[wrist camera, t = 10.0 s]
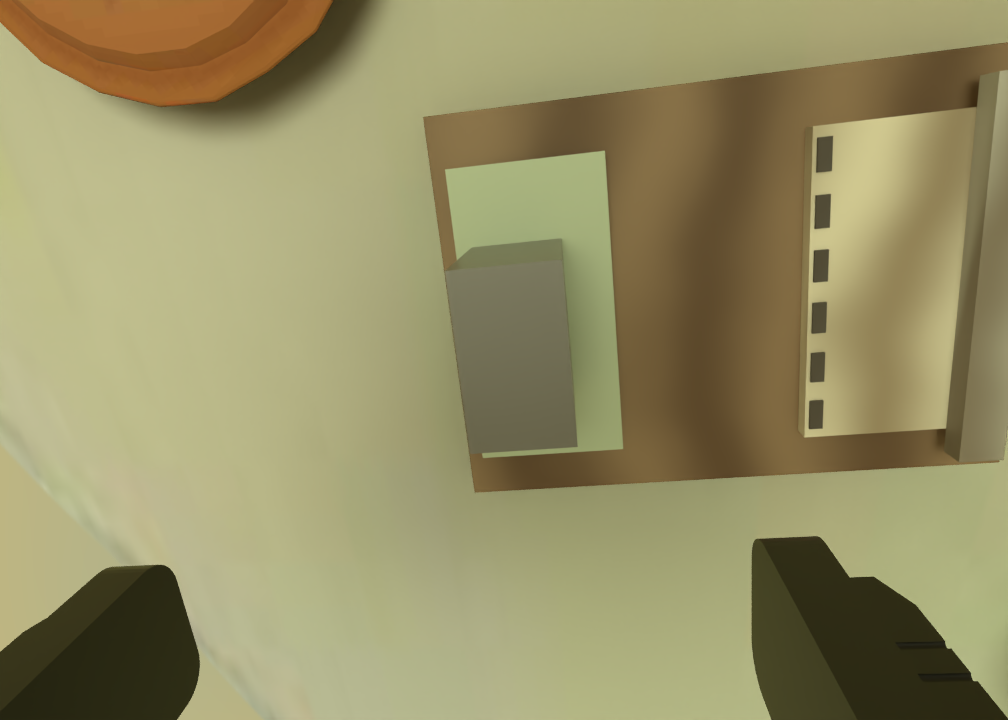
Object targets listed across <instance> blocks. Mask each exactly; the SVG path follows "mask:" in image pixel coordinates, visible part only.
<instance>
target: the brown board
mask: <svg viewBox="0 0 1008 720" xmlns="http://www.w3.org/2000/svg"><path fill="white" fill-rule="evenodd" d="M423 119H424V127H425V134H426V141H427V148H428V156H429V163H430V170H431V178H432V185H433V192H434V199H435V207H436V214H437V221H438V229H439V236H440V243H441V250H442V258H443V265H444V272H445V270H447V269H448V268H449V267H450V266H451V265H452V264H453V263H455V262H456V261H457V257H456V250H455V242H454V235H453V227H452V219H451V212H450V204H449V196H448V189H447V181H446V174H445V169H453V168H462V167H470V166H479V165H488V164H496V163H505V162H513V161H522V160H530V159H539V158H547V157H556V156H564V155H573V154H581V153H590V152H598V151H605V160H606V176H607V192H608V208H609V225H610V241H611V257H612V273H613V290H614V306H615V322H616V339H617V355H618V371H619V387H620V404H621V420H622V436H623V449H617V450H602V451H586V452H570V453H555V454H539V455H523V456H508V457H492V458H483V456H482V453H478V454H470V451H469V454H470V462H471V469H472V476H473V483H474V491H475V492H491V491H508V490H525V489H543V488H560V487H577V486H595V485H612V484H629V483H647V482H664V481H681V480H699V479H716V478H733V477H751V476H768V475H785V474H803V473H820V472H837V471H855V470H872V469H889V468H907V467H924V466H941V465H959V464H976V463H993V462H999V460H1004V453H1005V445H1006V437H1007V429H1008V42H1007V43H999V44H991V45H984V46H976V47H968V48H960V49H952V50H945V51H937V52H929V53H921V54H913V55H905V56H898V57H890V58H882V59H874V60H866V61H858V62H851V63H843V64H835V65H827V66H819V67H811V68H804V69H796V70H788V71H780V72H772V73H765V74H757V75H749V76H741V77H733V78H725V79H718V80H710V81H702V82H694V83H686V84H678V85H671V86H663V87H655V88H647V89H639V90H631V91H624V92H616V93H608V94H600V95H592V96H584V97H577V98H569V99H561V100H553V101H545V102H538V103H530V104H522V105H514V106H506V107H498V108H491V109H483V110H475V111H467V112H459V113H451V114H444V115H436V116H428V117H423ZM445 280H446V276H445ZM446 287H447V283H446ZM447 294H448V291H447ZM448 301H449V298H448ZM449 309H450V305H449ZM450 316H451V313H450ZM451 323H452V320H451ZM452 330H453V327H452ZM453 338H454V335H453ZM454 345H455V342H454ZM455 352H456V349H455ZM456 360H457V356H456ZM457 367H458V364H457ZM458 374H459V371H458ZM459 381H460V378H459ZM460 389H461V386H460ZM461 396H462V393H461ZM462 403H463V400H462ZM463 411H464V407H463ZM464 418H465V415H464ZM465 425H466V422H465ZM466 432H467V429H466ZM467 440H468V437H467ZM468 447H469V444H468Z"/></svg>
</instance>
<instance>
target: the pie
mask: <svg viewBox="0 0 1008 720" xmlns="http://www.w3.org/2000/svg"><path fill="white" fill-rule="evenodd" d="M332 2H333V0H0V22H1V23H2V24H3V25H4V26H5V27H6V28H7V29H8V30H9V31H10V32H11V33H12V34H13V35H14V36H15V37H16V38H17V39H18V40H19V41H20V42H21V43H22V44H24V45H25V46H26V47H27V48H28V49H29V50H30V51H31V52H32V53H33V54H34V55H35V56H36V57H37V58H38V59H39V60H40V61H41V62H43V63H44V64H46V65H48V66H50V67H52V68H54V69H56V70H58V71H60V72H62V73H63V74H65V75H67V76H69V77H71V78H73V79H75V80H77V81H79V82H81V83H83V84H85V85H86V86H88V87H90V88H92V89H94V90H96V91H98V92H100V93H104V94H108V95H112V96H117V97H121V98H125V99H129V100H133V101H137V102H142V103H146V104H150V105H154V106H158V107H167V106H177V105H187V104H197V103H208V102H217V101H219V100H221V99H222V98H224V97H226V96H227V95H229V94H231V93H233V92H234V91H236V90H238V89H239V88H241V87H243V86H245V85H246V84H248V83H250V82H252V81H253V80H255V79H257V78H258V77H260V76H262V75H264V74H265V73H267V72H269V71H270V70H271V69H272V68H273V67H275V66H276V65H277V64H278V63H279V62H281V61H282V60H283V59H284V58H285V57H287V56H288V55H289V54H290V53H291V52H293V51H294V50H295V49H296V48H297V47H299V46H300V45H301V44H302V43H303V42H305V41H306V40H307V39H308V38H309V37H311V36H312V35H313V34H314V33H315V32H316V31H317V30H318V28H319V26H320V24H321V22H322V20H323V19H324V17H325V15H326V13H327V11H328V9H329V8H330V6H331V4H332Z"/></svg>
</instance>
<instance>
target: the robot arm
mask: <svg viewBox="0 0 1008 720" xmlns="http://www.w3.org/2000/svg"><path fill="white" fill-rule="evenodd" d="M752 650H753V658H754V664H755V670H756V674H757V679H758V683H759V686H760V690H761V693H762V696H763V698H764V701H765V704H766V706H767V709H768V711H769V714H770V717H771V719H772V720H1008V718H1007V717H1006V716H1005V714H1004V713H1003V712H1002V711H1001V710H1000V708H999V707H998V706H997V705H996V703H995V702H994V701H993V700H992V698H991V697H990V696H989V695H988V694H987V692H986V691H985V690H984V689H983V687H982V686H981V685H980V684H979V682H978V681H973V680H972V677H971V673H970V671H969V670H968V669H967V668H966V666H965V665H964V664H963V663H962V661H961V660H960V659H959V658H958V657H957V655H956V654H955V653H954V652H953V650H952V649H947V647H946V645H945V641H944V639H943V638H942V637H941V636H940V634H939V633H938V632H937V631H936V629H935V628H934V627H933V626H932V624H931V623H930V622H929V621H928V620H927V618H926V617H925V616H924V615H923V613H922V612H921V611H920V610H919V608H918V607H917V606H916V605H915V604H913V603H912V602H910V601H909V600H907V599H906V598H904V597H903V596H901V595H900V594H898V593H897V592H896V591H894V590H893V589H891V588H890V587H888V586H887V585H885V584H884V583H882V582H881V581H879V580H878V579H876V578H875V577H854V578H850V577H849V576H848V575H847V573H846V572H845V570H844V569H843V568H842V566H841V565H840V563H839V562H838V560H837V559H836V558H835V556H834V555H833V553H832V552H831V550H830V549H829V548H828V546H827V545H826V543H825V542H824V541H823V540H822V539H821V538H820V537H817V536H813V537H791V538H769V539H756V540H755V541H754V543H753V547H752ZM199 668H200V660H199V653H198V649H197V646H196V642H195V639H194V636H193V632H192V629H191V626H190V622H189V619H188V616H187V613H186V609H185V606H184V603H183V599H182V596H181V593H180V589H179V586H178V583H177V580H176V577H175V575H174V573H173V572H172V571H171V569H170V568H168V567H167V566H164V565H144V566H122V567H110V568H106V569H104V570H102V571H101V572H100V573H98V574H97V575H96V576H95V577H94V578H92V579H91V580H90V581H89V582H88V583H87V584H86V585H84V586H83V587H82V588H81V589H80V590H79V591H78V592H76V593H75V594H74V595H73V596H72V597H71V598H69V599H68V600H67V601H66V602H65V603H64V604H63V605H62V606H60V607H59V608H58V609H57V610H56V611H55V612H53V613H52V614H51V615H50V616H49V617H48V618H46V619H45V620H43V621H41V622H40V623H38V624H36V625H34V626H33V627H31V628H30V629H28V630H26V631H25V632H23V633H22V634H21V635H20V636H19V637H17V638H16V639H15V640H14V641H12V642H11V643H10V644H9V645H8V646H7V647H5V648H4V649H3V650H2V651H1V652H0V720H177V719H178V717H179V716H180V715H181V713H182V712H183V710H184V709H185V707H186V706H187V704H188V703H189V701H190V699H191V698H192V695H193V693H194V691H195V688H196V685H197V681H198V676H199Z"/></svg>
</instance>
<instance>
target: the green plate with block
mask: <svg viewBox="0 0 1008 720" xmlns="http://www.w3.org/2000/svg"><path fill="white" fill-rule="evenodd" d="M445 174H446V181H447V189H448V196H449V204H450V212H451V219H452V227H453V235H454V242H455V250H456V257H457V261H456V262H455V263H453V264H452V265H451V266H450V267H449V268H448V269H447V270H445V276H446V283H447V291H448V298H449V305H450V313H451V320H452V327H453V335H454V342H455V349H456V356H457V364H458V371H459V378H460V386H461V393H462V400H463V407H464V415H465V422H466V429H467V437H468V444H469V451H470V454H478V453H482V456H483V458H492V457H508V456H523V455H539V454H555V453H570V452H586V451H602V450H617V449H623V436H622V420H621V404H620V387H619V371H618V355H617V339H616V322H615V306H614V290H613V273H612V257H611V241H610V225H609V208H608V192H607V176H606V160H605V151H598V152H590V153H581V154H573V155H564V156H556V157H547V158H539V159H530V160H522V161H513V162H505V163H496V164H488V165H479V166H470V167H462V168H453V169H445Z"/></svg>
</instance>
